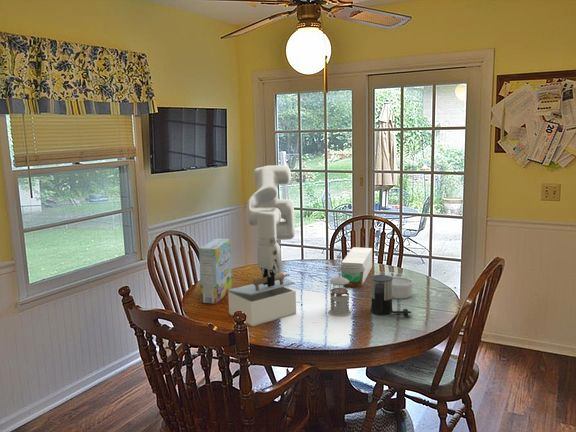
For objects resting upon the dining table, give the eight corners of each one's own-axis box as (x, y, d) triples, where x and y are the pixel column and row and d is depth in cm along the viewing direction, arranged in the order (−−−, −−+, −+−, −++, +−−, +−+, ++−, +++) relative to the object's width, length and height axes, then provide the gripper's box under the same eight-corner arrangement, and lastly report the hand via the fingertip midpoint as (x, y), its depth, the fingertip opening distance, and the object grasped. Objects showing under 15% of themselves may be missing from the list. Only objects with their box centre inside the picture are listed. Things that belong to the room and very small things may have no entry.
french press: (335, 318, 209) (334, 259, 204) (322, 309, 219) (321, 252, 215) (355, 314, 212) (355, 256, 208) (342, 305, 223) (341, 250, 219)
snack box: (218, 304, 229) (215, 248, 224) (200, 303, 230) (196, 248, 226) (233, 289, 249) (230, 237, 245) (216, 288, 251) (213, 237, 247)
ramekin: (418, 294, 235) (418, 280, 234) (403, 302, 225) (403, 287, 224) (393, 288, 244) (393, 274, 242) (378, 296, 234) (378, 281, 233)
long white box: (362, 284, 252) (362, 263, 250) (341, 283, 255) (341, 262, 253) (372, 267, 282) (372, 248, 280) (353, 265, 285) (353, 247, 283)
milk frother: (369, 307, 220) (369, 274, 217) (406, 307, 219) (406, 273, 217) (373, 320, 206) (373, 284, 203) (413, 319, 205) (413, 284, 203)
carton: (271, 302, 229) (271, 281, 227) (296, 313, 215) (295, 290, 213) (229, 314, 216) (228, 291, 215) (252, 326, 202) (251, 302, 200)
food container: (337, 287, 248) (336, 267, 246) (340, 283, 253) (340, 264, 251) (361, 290, 243) (361, 269, 241) (365, 286, 249) (364, 266, 247)
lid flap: (271, 280, 227) (269, 269, 227) (295, 283, 213) (293, 271, 213) (228, 291, 215) (226, 279, 214) (250, 295, 200) (248, 282, 200)
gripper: (286, 242, 201) (288, 287, 205) (263, 236, 214) (265, 279, 217) (271, 245, 197) (272, 291, 200) (248, 239, 210) (250, 282, 213)
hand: (268, 284), depth 209 cm, fingers closed on lid flap, 2 cm apart
